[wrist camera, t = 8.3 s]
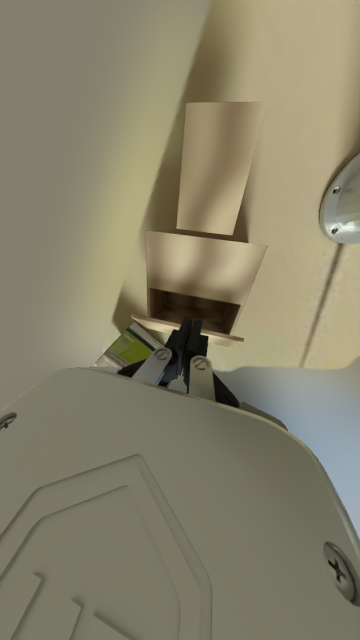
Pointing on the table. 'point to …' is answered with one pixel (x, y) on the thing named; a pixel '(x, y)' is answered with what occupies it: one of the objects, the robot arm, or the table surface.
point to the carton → (194, 309)
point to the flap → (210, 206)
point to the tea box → (129, 348)
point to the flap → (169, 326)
